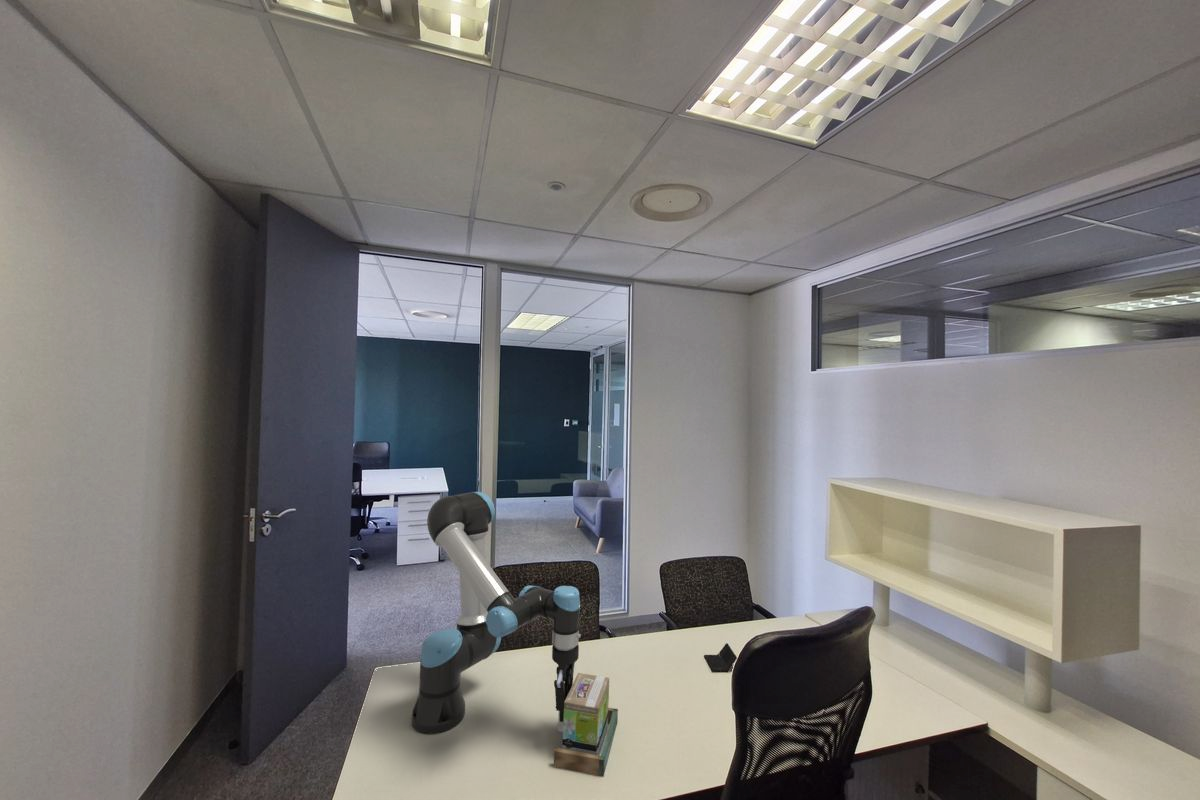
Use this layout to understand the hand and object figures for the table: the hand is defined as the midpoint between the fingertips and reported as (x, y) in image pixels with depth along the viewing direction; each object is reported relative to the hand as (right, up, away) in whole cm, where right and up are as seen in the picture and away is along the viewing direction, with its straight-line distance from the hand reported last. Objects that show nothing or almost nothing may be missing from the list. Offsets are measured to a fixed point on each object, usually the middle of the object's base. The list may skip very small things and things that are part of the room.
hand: (563, 730), depth 125 cm
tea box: (+6, -3, -1) cm, 7 cm away
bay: (+6, -2, -2) cm, 7 cm away
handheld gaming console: (+55, -6, +40) cm, 69 cm away
